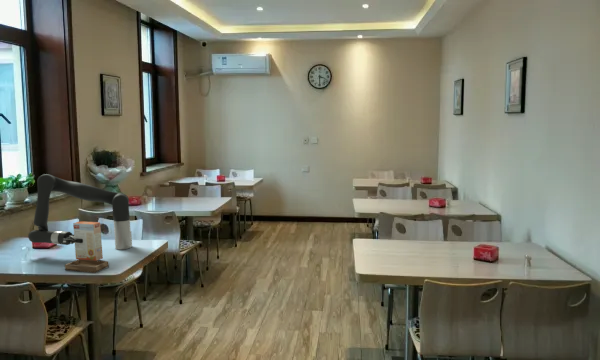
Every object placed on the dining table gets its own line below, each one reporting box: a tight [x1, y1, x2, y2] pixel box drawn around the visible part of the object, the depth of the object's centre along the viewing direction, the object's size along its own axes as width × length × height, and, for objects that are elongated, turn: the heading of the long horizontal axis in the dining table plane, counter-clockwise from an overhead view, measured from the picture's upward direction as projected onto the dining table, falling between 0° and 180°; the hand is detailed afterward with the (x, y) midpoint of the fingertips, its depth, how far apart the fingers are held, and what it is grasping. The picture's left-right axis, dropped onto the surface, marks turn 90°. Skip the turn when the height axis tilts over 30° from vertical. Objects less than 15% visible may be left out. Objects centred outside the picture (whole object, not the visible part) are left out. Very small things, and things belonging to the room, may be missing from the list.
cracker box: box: [72, 220, 104, 261], centre depth 280 cm, size 14×6×21 cm, turn 71°
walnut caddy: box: [64, 259, 109, 274], centre depth 265 cm, size 11×19×3 cm, turn 73°
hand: (86, 239), depth 281 cm, fingers closed on cracker box, 6 cm apart
